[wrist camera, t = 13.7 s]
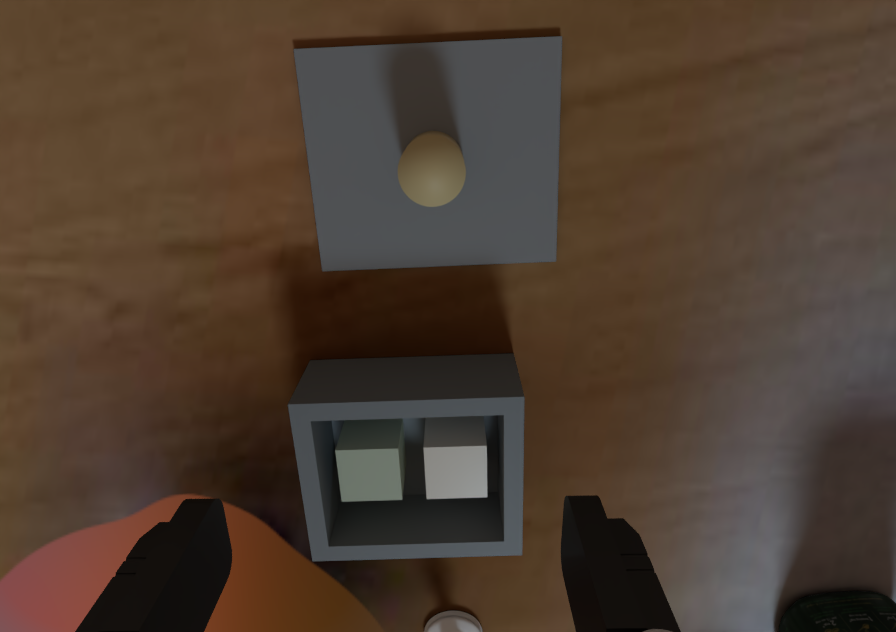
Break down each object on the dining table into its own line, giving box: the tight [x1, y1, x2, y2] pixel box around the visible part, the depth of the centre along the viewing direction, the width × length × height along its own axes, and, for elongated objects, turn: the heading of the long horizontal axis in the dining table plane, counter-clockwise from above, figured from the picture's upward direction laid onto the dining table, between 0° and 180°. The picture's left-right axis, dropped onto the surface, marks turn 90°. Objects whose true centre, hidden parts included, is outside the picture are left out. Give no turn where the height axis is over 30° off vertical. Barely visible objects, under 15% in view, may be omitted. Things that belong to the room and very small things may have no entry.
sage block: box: [335, 418, 406, 502], centre depth 39 cm, size 4×4×4 cm
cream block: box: [423, 416, 487, 499], centre depth 39 cm, size 4×4×4 cm
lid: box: [294, 36, 562, 271], centre depth 33 cm, size 15×13×6 cm
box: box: [288, 353, 524, 561], centre depth 39 cm, size 14×12×6 cm
